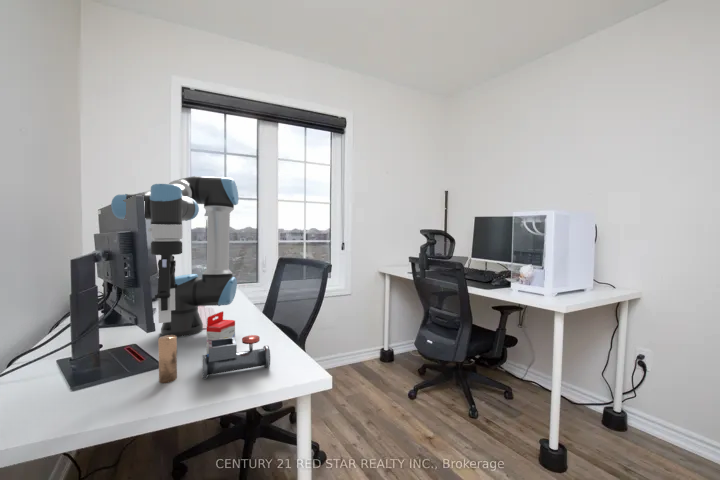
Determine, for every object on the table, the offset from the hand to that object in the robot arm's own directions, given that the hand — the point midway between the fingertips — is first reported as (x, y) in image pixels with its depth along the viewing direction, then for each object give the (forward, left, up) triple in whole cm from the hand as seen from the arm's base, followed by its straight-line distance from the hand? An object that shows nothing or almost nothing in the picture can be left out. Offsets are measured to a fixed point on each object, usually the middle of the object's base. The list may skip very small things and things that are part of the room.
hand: (167, 316), depth 90 cm
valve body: (+3, +18, -18) cm, 26 cm away
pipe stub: (0, 0, -18) cm, 18 cm away
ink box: (-10, +14, -18) cm, 25 cm away
